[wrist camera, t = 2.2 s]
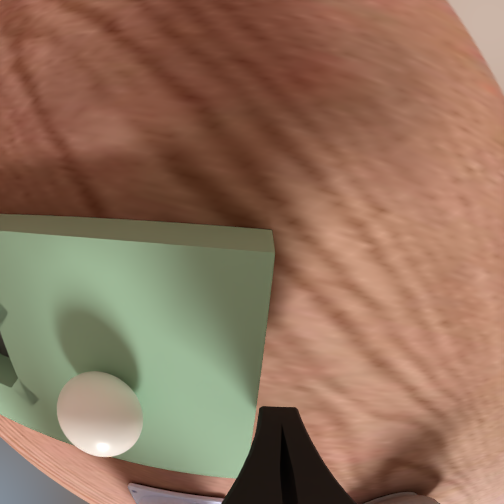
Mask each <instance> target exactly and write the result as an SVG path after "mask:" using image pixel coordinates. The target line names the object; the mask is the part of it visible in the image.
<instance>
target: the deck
mask: <svg viewBox="0 0 504 504" xmlns="http://www.w3.org/2000/svg"><path fill="white" fill-rule="evenodd" d="M274 259H275V248H274V241H273V234H272V230H267V229H255V228H243V227H230V226H217V225H203V224H189V223H175V222H159V221H144V220H127V219H109V218H91V217H70V216H48V215H22V214H0V414H1V415H3V416H5V417H7V418H9V419H11V420H13V421H15V422H17V423H19V424H21V425H24V426H26V427H28V428H30V429H33V430H35V431H37V432H40V433H42V434H45V435H47V436H50V437H52V438H55V439H57V440H60V441H63V442H66V443H68V444H71V445H74V444H72V443H71V442H70V441H69V439H68V438H67V437H66V436H65V434H64V432H63V431H62V429H61V427H60V424H59V421H58V417H57V401H58V397H59V394H60V392H61V390H62V388H63V387H64V385H65V384H66V383H67V382H68V381H69V380H70V379H72V378H73V377H75V376H76V375H79V374H81V373H84V372H90V371H98V372H105V373H108V374H111V375H113V376H115V377H117V378H119V379H121V380H122V381H123V382H125V383H126V384H127V385H128V386H129V387H130V388H131V389H132V390H133V392H134V393H135V395H136V396H137V398H138V400H139V402H140V405H141V408H142V412H143V427H142V431H141V434H140V436H139V438H138V440H137V441H136V443H135V444H134V445H133V446H132V447H131V448H130V449H129V450H127V451H126V452H124V453H122V454H120V455H116V456H112V457H113V458H117V459H121V460H124V461H128V462H133V463H137V464H141V465H146V466H151V467H155V468H161V469H166V470H171V471H177V472H184V473H190V474H198V475H205V476H214V477H224V478H237V477H238V475H239V473H240V471H241V469H242V467H243V464H244V462H245V460H246V458H247V456H248V453H249V451H250V448H251V441H252V434H253V427H254V420H255V412H256V405H257V398H258V390H259V383H260V375H261V368H262V360H263V352H264V344H265V336H266V328H267V320H268V311H269V303H270V294H271V286H272V277H273V268H274ZM74 446H75V445H74Z"/></svg>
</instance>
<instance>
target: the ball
mask: <svg viewBox="0 0 504 504" xmlns="http://www.w3.org/2000/svg"><path fill="white" fill-rule="evenodd" d="M57 417H58V421H59V424H60V427H61V429H62V431H63V432H64V434H65V436H66V437H67V438H68V439H69V441H70V442H71V443H72V444H74V445H75V446H76V447H77V448H79V449H80V450H82V451H84V452H86V453H88V454H91V455H94V456H99V457H112V456H116V455H120V454H122V453H124V452H126V451H127V450H129V449H130V448H131V447H132V446H133V445H134V444H135V443H136V441H137V440H138V438H139V436H140V434H141V431H142V427H143V412H142V408H141V405H140V402H139V400H138V398H137V396H136V395H135V393H134V392H133V390H132V389H131V388H130V387H129V386H128V385H127V384H126V383H125V382H123V381H122V380H121V379H119V378H117V377H115V376H113V375H111V374H108V373H105V372H98V371H90V372H84V373H81V374H79V375H76V376H75V377H73V378H72V379H70V380H69V381H68V382H67V383H66V384H65V385H64V387H63V388H62V390H61V392H60V394H59V397H58V401H57Z"/></svg>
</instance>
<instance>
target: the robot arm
mask: <svg viewBox="0 0 504 504" xmlns="http://www.w3.org/2000/svg"><path fill="white" fill-rule="evenodd" d="M128 489H129V491H130V493H131V495H132V496H133V498H134V500H135V502H136V504H357V503H356V502H355V501H354V500H353V499H352V498H351V497H350V496H349V495H348V494H347V493H346V492H345V490H344V489H343V488H342V487H341V485H340V484H339V483H338V482H337V480H336V479H335V478H334V476H333V475H332V474H331V472H330V471H329V469H328V468H327V466H326V465H325V463H324V462H323V460H322V458H321V457H320V455H319V453H318V452H317V450H316V448H315V446H314V445H313V443H312V441H311V439H310V437H309V435H308V433H307V431H306V429H305V426H304V424H303V422H302V419H301V417H300V414H299V412H298V409H297V408H296V407H267V406H263V407H261V408H259V415H258V422H257V428H256V434H255V437H254V440H253V443H252V445H251V448H250V451H249V453H248V456H247V458H246V460H245V462H244V464H243V467H242V469H241V471H240V473H239V475H238V477H237V478H236V480H235V482H234V484H233V486H232V487H231V489H230V491H229V492H228V494H227V495H226V497H225V498H224V499H223V498H215V497H206V496H198V495H191V494H184V493H178V492H172V491H167V490H161V489H156V488H152V487H147V486H143V485H138V484H134V483H129V484H128Z"/></svg>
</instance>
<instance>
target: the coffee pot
mask: <svg viewBox="0 0 504 504" xmlns="http://www.w3.org/2000/svg"><path fill="white" fill-rule="evenodd" d="M364 504H440V503H438V502H437V501H436V500H435V499H432V498H430V497H427V496H424V495H417V494H416V493H414V492H402V493H396V494H391V495H387V496H384V497H380V498H377V499H374V500H372V501H369V502H366V503H364Z"/></svg>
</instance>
